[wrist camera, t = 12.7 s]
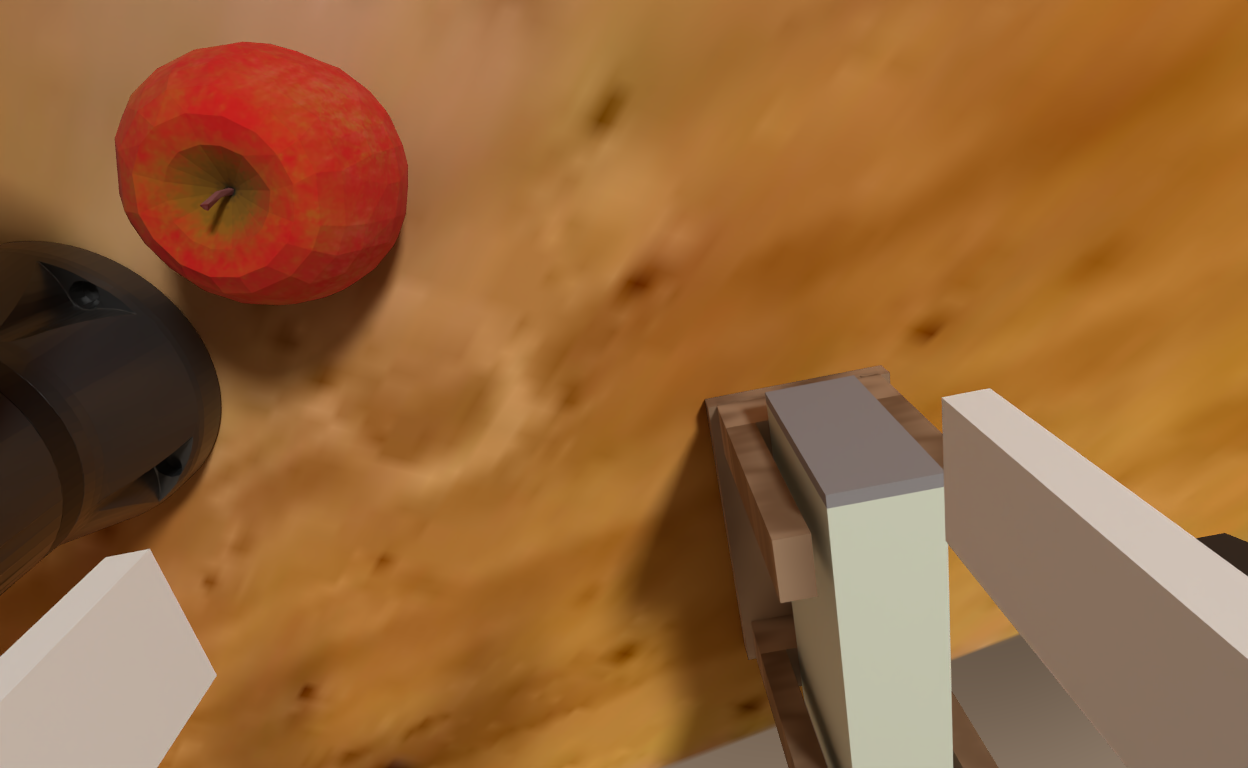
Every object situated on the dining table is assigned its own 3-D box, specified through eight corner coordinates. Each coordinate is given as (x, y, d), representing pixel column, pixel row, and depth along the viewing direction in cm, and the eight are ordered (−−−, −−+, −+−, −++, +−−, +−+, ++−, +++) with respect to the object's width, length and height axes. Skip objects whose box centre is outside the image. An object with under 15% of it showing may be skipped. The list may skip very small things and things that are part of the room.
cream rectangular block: (804, 705, 44) (862, 869, 34) (764, 392, 36) (825, 495, 27) (877, 692, 44) (955, 853, 34) (853, 375, 36) (946, 472, 26)
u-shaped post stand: (744, 646, 47) (803, 856, 34) (704, 399, 40) (759, 543, 27) (896, 618, 47) (1013, 820, 34) (881, 365, 40) (1020, 494, 27)
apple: (148, 113, 34) (-36, 120, 24) (345, 3, 32) (236, -39, 22) (285, 312, 37) (175, 389, 28) (466, 220, 36) (419, 267, 26)
